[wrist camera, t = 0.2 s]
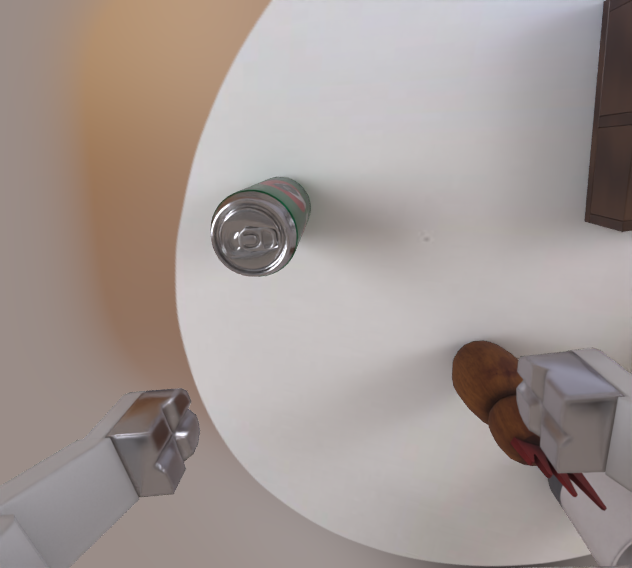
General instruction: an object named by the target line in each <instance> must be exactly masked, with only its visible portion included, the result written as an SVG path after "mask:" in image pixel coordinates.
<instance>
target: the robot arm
mask: <svg viewBox="0 0 632 568" xmlns="http://www.w3.org/2000/svg"><path fill="white" fill-rule="evenodd" d="M517 372H518V373H519V375H520V376H521V377H522V379H523V381H522V382H521V383H520V384H519V386H518V387H517V388H516V400H517V405H518V409H519V413H520V415H521V417H522V420H523V422H524V423H525V425H526V426H527V428H528V429H529V431H531V432H533V433H534V434H536V435H538V436H540V437H541V438H540V448H541V449H542V451H543V452H544V453H545V455H546V456H547V458H548V459H549V461H550V462H551V464H552V465H553V467H554V468H555V470H556V471H557V473H592V472H605V475H607V476H608V477H610V478H611V479H612V480H614V481H615V482H617V483H618V484H620V485H621V486H623V487H624V488H626V489H627V490H629V491H630V492H632V374H631V373H629V372H628V371H627V370H625V369H624V368H623V367H622V366H620V365H619V364H618V363H616V362H615V361H614V360H612V359H611V358H610V357H608V356H607V355H606V354H605V353H603V352H602V351H601V350H599V349H595V348H586V349H578V350H570V351H566V352H557V353H548V354H538V355H529V356H520V358H519V361H518V367H517ZM190 403H191V399H190V397H189V395H188V392H187V391H186V390H184V389H182V388H179V389H167V390H152V391H140V392H130V393H128V394H125V395H123V396H122V397H121V398H120V399H119V401H118V402H117V403H116V404H115V405H114V406H113V407H112V408H111V409H110V410H109V412H108V413H107V414H106V415H105V416H104V417H103V418H102V419H101V420H100V421H99V423H98V424H97V425H96V426H95V427H94V428H93V429H92V430H91V431H90V433H89V434H88V435H87V436H86V437H85V438H84V439H83V440H76V441H75V442H73V443H71V444H70V445H68V446H66V447H65V448H63V449H61V450H60V451H58V452H56V453H55V454H53V455H51V456H50V457H48V458H46V459H44V460H43V461H41V462H39V463H38V464H36V465H34V466H33V467H31V468H29V469H28V470H26V471H24V472H23V473H21V474H19V475H18V476H16V477H14V478H13V479H11V480H9V481H8V482H6V483H4V484H3V485H1V486H0V568H69V567H70V566H72V564H74V563H75V561H77V560H78V559H79V558H80V557H81V556H82V555H83V554H84V553H85V552H86V551H87V550H88V549H89V548H90V547H91V546H92V545H93V544H94V543H95V542H96V541H97V540H98V539H99V538H100V537H101V536H102V535H103V534H104V533H105V532H106V531H107V530H108V529H109V528H110V527H111V526H112V525H114V523H116V521H118V519H120V518H121V517H122V516H123V515H124V514H125V513H126V512H127V511H128V510H129V509H130V508H131V507H132V506H133V505H134V504H135V503H136V502H137V501H138V500H139V497H148V496H159V495H169V494H174V492H175V490H176V488H177V486H178V484H179V482H180V480H181V478H182V476H183V474H184V472H185V469H186V468H185V464H184V461H185V460H187V459H188V458H189V457H190V456H191V455H193V454H194V452H195V449H196V447H197V445H198V441H199V435H200V428H199V421H198V418H197V416H196V414H194V413H193V412H192V411H191V410H189V409H188V408H189V406H190ZM541 568H542V567H541ZM545 568H632V565H629V566H588V567H587V566H586V567H585V566H584V567H545Z"/></svg>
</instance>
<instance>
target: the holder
mask: <svg viewBox="0 0 632 568" xmlns="http://www.w3.org/2000/svg"><path fill="white" fill-rule="evenodd" d="M585 222H588V223H592V224H596V225H599V226H603V227H607V228H610V229H614V230H617V231H621V232H625V231H631V230H632V0H606V1H604V6H603V18H602V29H601V41H600V52H599V64H598V75H597V86H596V98H595V109H594V121H593V132H592V144H591V155H590V166H589V178H588V189H587V201H586V212H585Z"/></svg>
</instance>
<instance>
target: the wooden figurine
mask: <svg viewBox="0 0 632 568" xmlns="http://www.w3.org/2000/svg"><path fill="white" fill-rule="evenodd" d="M518 361H519V360H518V359H517V358H515V357H514V356H513V355H512V354H511V353H509V352H508V351H506V350H505V349H503V348H502V347H500V346H498V345H497V344H494V343H491V342H487V341H473V342H471V343H469V344H466V345H464V346H463V347H462V348H461V349H460V350H459V351H458V352H457V354H456V356H455V357H454V360H453V369H452V380H453V386H454V388H455V390H456V392H457V393H458V395H459V396H460V397H461V399H462V400H463V401H464V403H465V404H466V405H467V407H468V408H469V409H470V410H471V411H472V412H473V413H474V414H475V415H476V416H477V417H478V418H480V419H481V420H482V421H483V422H484V423H486V424H488V425H489V428H490V431H491V433H492V435H493V437H494V439H495V441H496V443H497V444H498V446H499V447H500V448H501V449H502V450H503V451H504V452H505V453H506V454H507V455H508V456H509V457H510V458H511V459H513V460H515V461H517V462H519V463H522V464H524V465H530V466H538V468H539V469H540V470H541V471H542V472H543V473H544V475H545V476H546V477H547V478H551V477H552V475H553V474H554V476H555V477H556V478H557V479H558V480H559V481H560V483H561V484H562V485H563V486H564V487H565V488H566V489H567V491H568V492H569V493H570V494H571V495H572V496H573V497H577V496H578V494H577V492H576V490H575V488H574V486H573V484H572V482H571V480H572V481H573V482H574V483H575V484H576V485H577V486H578V487H579V488H580V489H581V490H582V491H583V492H584V493H585V494H586V495H587V496H588V497H589V498H590V499H591V500H592V501H593V502H594V503H595V504H596V505H597V506H598V507H599V508H600V509H601V510H604V511H605V510H606V509H607V508H606V506H605V505H604V503H603V502H602V500H601V499H600V498H599V496H598V495H597V493H596V492H595V490H594V489H593V488H592V486H591V485H590V483H589V482H588V481H587V479H586V478H585V476H584V475H583V473H557V471H556V470H555V468H554V467H553V465H552V464H551V462H550V461H549V459H548V458H547V456H546V455H545V453H544V452H543V451H542V449H541V448H540V438H541V437H540V436H538V435H536V434H534V433H533V432H531V431H529V429H528V428H527V426H526V425H525V423H524V422H523V420H522V417H521V415H520V413H519V409H518V405H517V400H516V388H517V387H518V386H519V384H520V383H521V382H522V381H523V379H522V377H521V376H520V375H519V373H518V372H517V367H518ZM552 473H553V474H552ZM570 479H571V480H570Z"/></svg>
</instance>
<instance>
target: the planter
mask: <svg viewBox="0 0 632 568" xmlns="http://www.w3.org/2000/svg"><path fill="white" fill-rule="evenodd" d="M552 474H553V473H552ZM583 475H584V476H585V478H586V479H587V481H588V482H589V483H590V485H591V486H592V488H593V489H594V490H595V492H596V493H597V495H598V496H599V498H600V499H601V500H602V502H603V503H604V505H605V506H606V508H607V509H606V510H605V511H604V510H601V509H600V508H599V507H598V506H597V505H596V504H595V503H594V502H593V501H592V500H591V499H590V498H589V497H588V496H587V495H586V494H585V493H584V492H583V491H582V490H581V489H580V488H579V487H578V486H577V485H576V484H575V483H574V482H573V481H572V480H571V479H570V480H571V482H572V484H573V486H574V488H575V490H576V492H577V494H578V496H577V497H573V496H572V495H571V494H570V493H569V492H568V491H567V489H566V488H565V487H564V486H563V485H562V484H561V483H560V481H559V480H558V479H557V478H556V477H555V476H554V474H553V475H552V477H551V478H548V482H549V486H550V489H551V491H552V493H553V494H554V496H555V497H556V499H557V500H558V502H559V504H560V505H561V507H562V508H563V510H564V511H565V513H566V515H567V516H568V518H569V519H570V521H571V523H572V524H573V526H574V527H575V529H576V530H577V532H578V534H579V535H580V537H581V538H582V540H583V541H584V543H585V545H586V546H587V548H588V549H589V551H590V552H591V554H592V555H593V557H594V559H595V560H596V562H597V563H598V565H599V566H629V565H632V492H630V491H629V490H627V489H626V488H624V487H623V486H621V485H620V484H618V483H617V482H615V481H614V480H612V479H611V478H610V477H608V476H607V475H605V472H592V473H583Z"/></svg>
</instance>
